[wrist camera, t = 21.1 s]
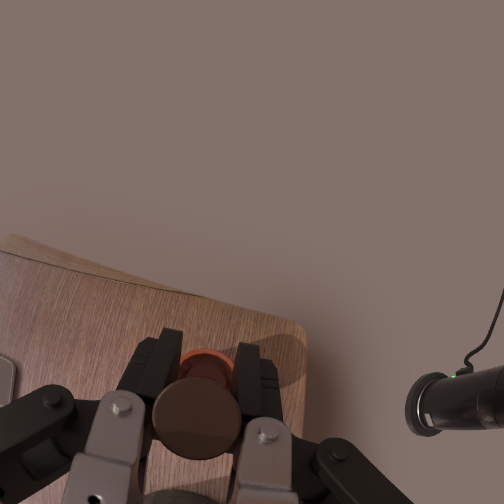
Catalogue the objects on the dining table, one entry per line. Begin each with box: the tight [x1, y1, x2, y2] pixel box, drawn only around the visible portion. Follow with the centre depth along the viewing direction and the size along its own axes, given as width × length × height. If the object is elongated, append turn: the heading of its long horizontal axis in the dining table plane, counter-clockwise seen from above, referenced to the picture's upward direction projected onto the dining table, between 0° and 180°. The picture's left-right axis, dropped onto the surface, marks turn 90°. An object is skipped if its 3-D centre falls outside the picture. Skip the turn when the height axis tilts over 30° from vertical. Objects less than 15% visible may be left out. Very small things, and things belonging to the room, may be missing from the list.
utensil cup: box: [177, 348, 234, 392], centre depth 31 cm, size 7×7×8 cm
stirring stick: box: [152, 377, 242, 460], centre depth 14 cm, size 2×2×18 cm
